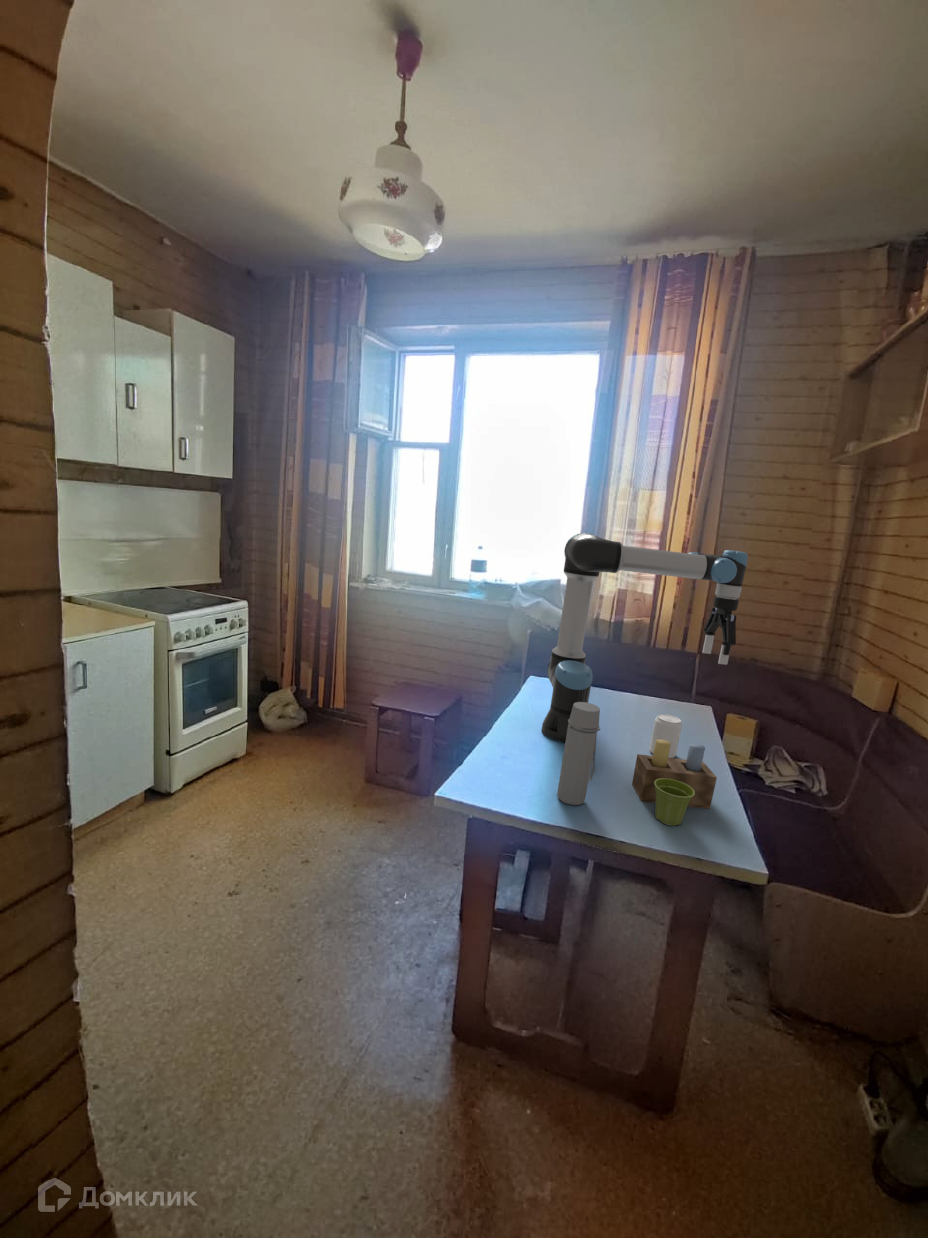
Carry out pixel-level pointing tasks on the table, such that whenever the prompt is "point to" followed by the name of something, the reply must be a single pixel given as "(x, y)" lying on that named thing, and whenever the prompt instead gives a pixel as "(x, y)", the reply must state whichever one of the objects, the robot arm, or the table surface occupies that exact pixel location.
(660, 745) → the ochre peg
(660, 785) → the plant pot
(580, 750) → the water bottle
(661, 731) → the beverage can
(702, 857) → the table surface
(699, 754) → the blue peg
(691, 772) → the walnut block
